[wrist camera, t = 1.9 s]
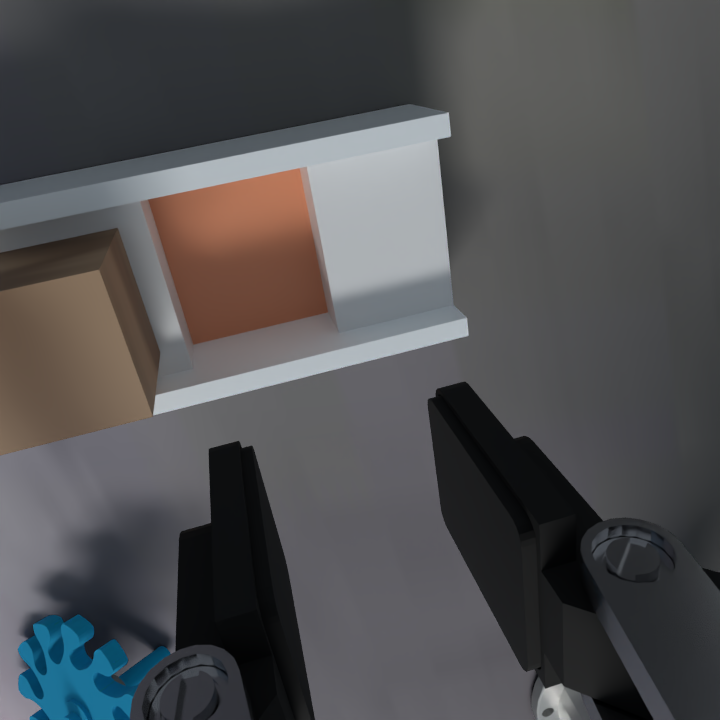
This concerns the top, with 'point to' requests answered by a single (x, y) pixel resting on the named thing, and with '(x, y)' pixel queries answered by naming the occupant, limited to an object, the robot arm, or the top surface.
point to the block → (72, 341)
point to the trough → (269, 247)
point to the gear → (79, 673)
